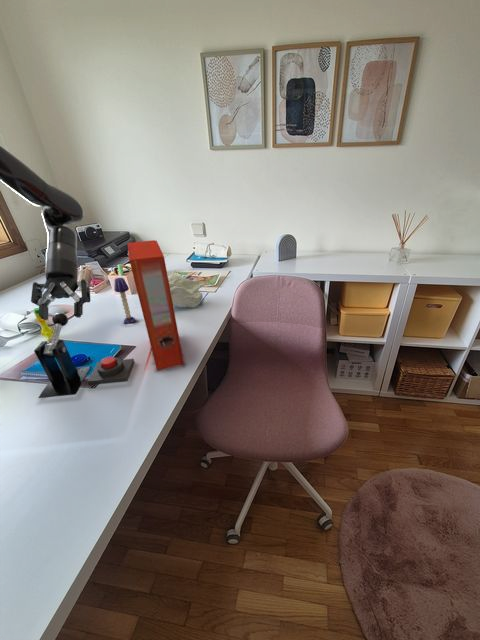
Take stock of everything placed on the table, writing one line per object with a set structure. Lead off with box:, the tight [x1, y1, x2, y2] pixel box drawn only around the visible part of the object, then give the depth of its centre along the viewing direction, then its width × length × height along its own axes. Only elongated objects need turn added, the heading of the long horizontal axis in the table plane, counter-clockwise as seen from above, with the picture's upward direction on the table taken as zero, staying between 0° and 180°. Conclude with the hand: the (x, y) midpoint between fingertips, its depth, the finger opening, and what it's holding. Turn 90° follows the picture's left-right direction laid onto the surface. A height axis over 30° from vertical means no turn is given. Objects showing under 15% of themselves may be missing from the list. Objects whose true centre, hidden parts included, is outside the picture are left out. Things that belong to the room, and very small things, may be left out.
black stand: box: [33, 339, 92, 399], centre depth 79 cm, size 12×9×13 cm
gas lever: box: [43, 312, 69, 359], centre depth 79 cm, size 13×4×4 cm, turn 7°
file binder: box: [127, 239, 185, 371], centre depth 86 cm, size 8×17×32 cm, turn 22°
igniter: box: [100, 356, 117, 369], centre depth 83 cm, size 4×4×2 cm
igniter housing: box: [86, 357, 135, 386], centre depth 84 cm, size 10×9×4 cm
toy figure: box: [33, 307, 54, 340], centre depth 99 cm, size 7×4×12 cm, turn 26°
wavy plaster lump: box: [168, 275, 206, 309], centre depth 119 cm, size 18×13×16 cm
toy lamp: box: [113, 277, 137, 325], centre depth 108 cm, size 5×5×17 cm
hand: (61, 318), depth 82 cm, fingers open, 8 cm apart
